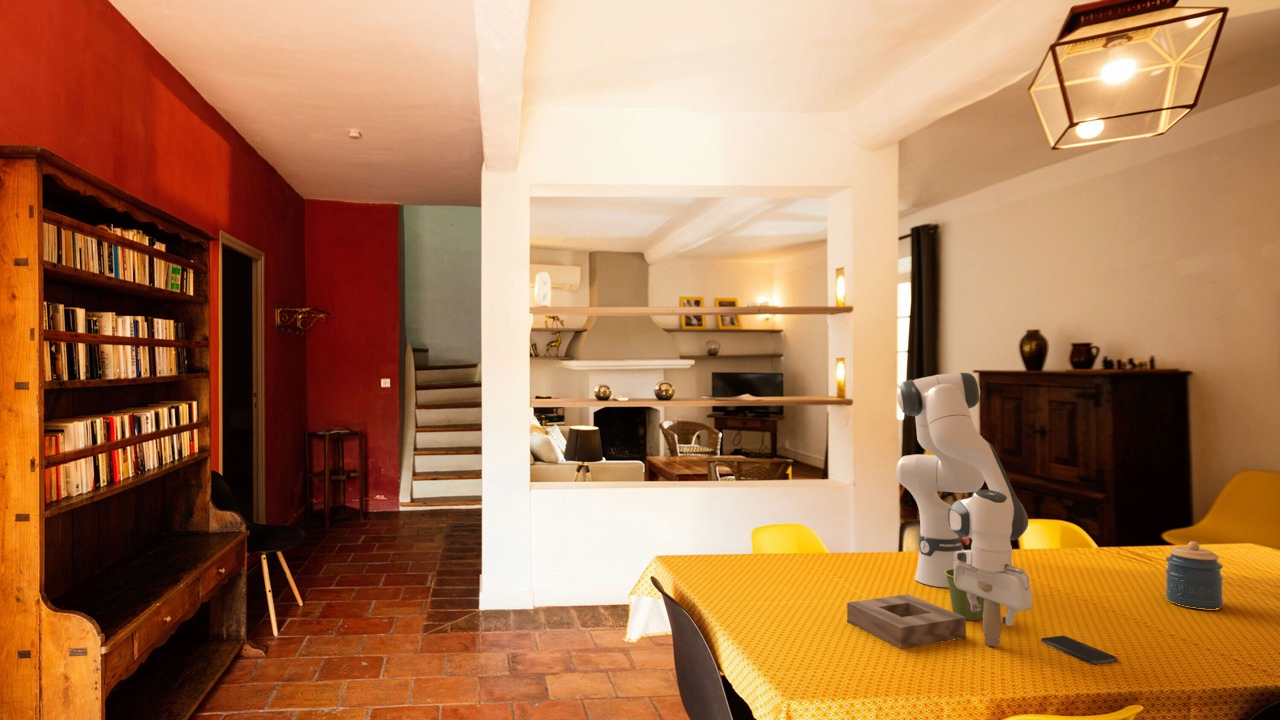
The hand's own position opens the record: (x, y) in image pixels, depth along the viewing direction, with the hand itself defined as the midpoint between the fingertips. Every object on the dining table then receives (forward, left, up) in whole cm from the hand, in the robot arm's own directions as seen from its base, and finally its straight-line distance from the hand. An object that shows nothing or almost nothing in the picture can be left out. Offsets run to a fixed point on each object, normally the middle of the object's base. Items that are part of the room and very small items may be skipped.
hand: (991, 618), depth 177 cm
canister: (-79, -3, -7) cm, 80 cm away
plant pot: (-11, -18, -7) cm, 22 cm away
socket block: (+12, -16, -7) cm, 21 cm away
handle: (0, 0, -7) cm, 7 cm away
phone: (-16, +10, -7) cm, 20 cm away
